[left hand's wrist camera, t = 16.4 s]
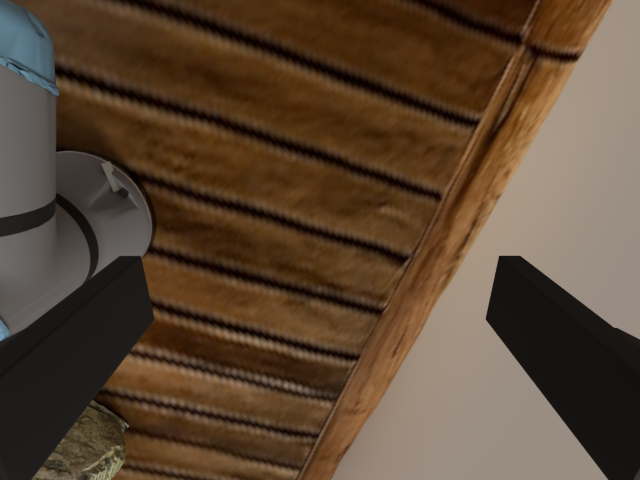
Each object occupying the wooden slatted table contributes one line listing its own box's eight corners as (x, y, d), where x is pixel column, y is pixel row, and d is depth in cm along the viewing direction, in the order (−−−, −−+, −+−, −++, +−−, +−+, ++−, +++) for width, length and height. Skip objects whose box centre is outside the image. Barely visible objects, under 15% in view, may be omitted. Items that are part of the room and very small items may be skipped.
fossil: (134, 447, 56) (73, 561, 42) (16, 412, 53) (-92, 522, 39) (147, 410, 53) (86, 520, 39) (23, 371, 50) (-91, 475, 36)
